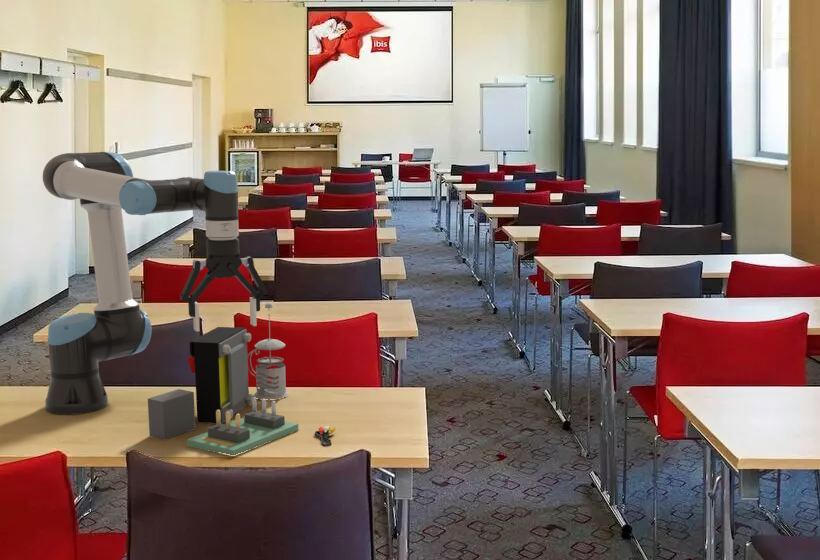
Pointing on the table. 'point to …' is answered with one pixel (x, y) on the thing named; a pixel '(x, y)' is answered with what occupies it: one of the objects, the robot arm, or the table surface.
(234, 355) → the electrical component
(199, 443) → the header board
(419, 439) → the table surface
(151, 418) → the block
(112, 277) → the robot arm
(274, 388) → the french press
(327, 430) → the composite cable
